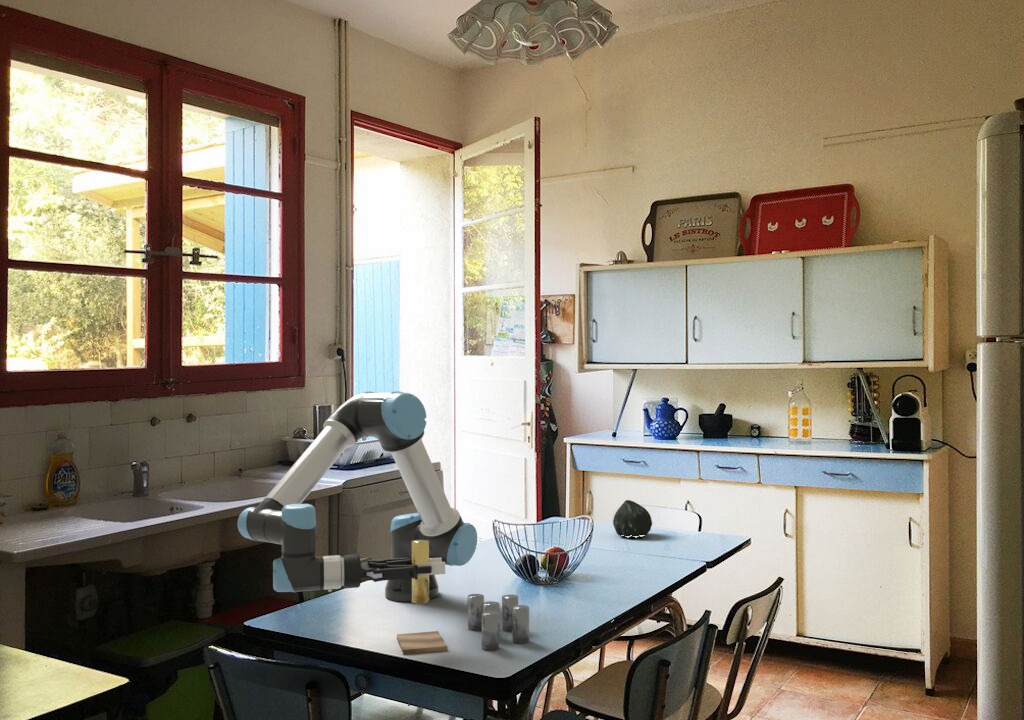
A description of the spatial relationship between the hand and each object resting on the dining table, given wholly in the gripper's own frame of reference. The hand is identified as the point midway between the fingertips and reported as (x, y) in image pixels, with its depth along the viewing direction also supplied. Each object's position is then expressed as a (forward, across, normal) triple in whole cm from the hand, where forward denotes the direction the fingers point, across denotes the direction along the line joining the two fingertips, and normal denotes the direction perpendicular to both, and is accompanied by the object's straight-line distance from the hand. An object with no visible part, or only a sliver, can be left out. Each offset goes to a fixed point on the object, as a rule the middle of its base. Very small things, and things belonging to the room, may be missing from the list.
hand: (442, 565), depth 206 cm
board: (-5, +1, -18) cm, 19 cm away
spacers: (+14, 0, -18) cm, 22 cm away
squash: (+92, -107, -18) cm, 142 cm away
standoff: (-5, 0, -8) cm, 10 cm away
